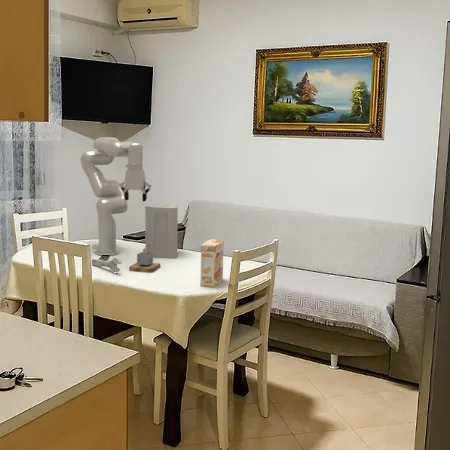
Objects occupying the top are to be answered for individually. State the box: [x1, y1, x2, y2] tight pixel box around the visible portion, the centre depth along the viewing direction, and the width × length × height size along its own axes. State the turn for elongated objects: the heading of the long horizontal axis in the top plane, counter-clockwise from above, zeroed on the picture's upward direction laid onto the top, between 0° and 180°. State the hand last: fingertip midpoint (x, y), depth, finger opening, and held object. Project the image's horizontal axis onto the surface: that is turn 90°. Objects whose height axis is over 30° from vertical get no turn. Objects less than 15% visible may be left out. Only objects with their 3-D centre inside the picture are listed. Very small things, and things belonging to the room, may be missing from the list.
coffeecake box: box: [199, 238, 225, 288], centre depth 275 cm, size 15×7×20 cm, turn 164°
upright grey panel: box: [144, 202, 179, 260], centre depth 326 cm, size 19×15×28 cm
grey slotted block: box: [136, 251, 154, 265], centre depth 298 cm, size 6×6×5 cm
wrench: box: [91, 257, 123, 274], centre depth 296 cm, size 8×2×30 cm
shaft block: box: [128, 247, 161, 274], centre depth 298 cm, size 12×12×10 cm
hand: (135, 200), depth 304 cm, fingers open, 9 cm apart
